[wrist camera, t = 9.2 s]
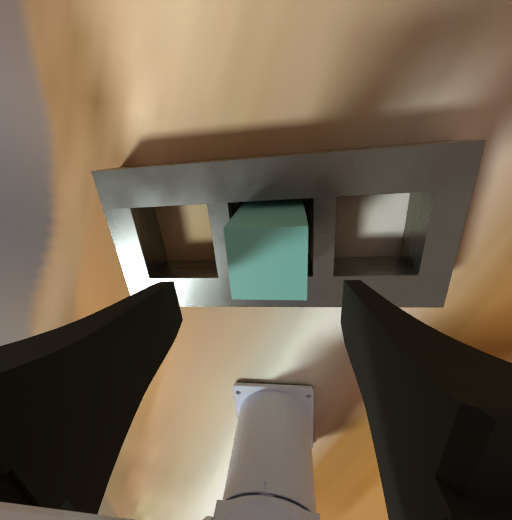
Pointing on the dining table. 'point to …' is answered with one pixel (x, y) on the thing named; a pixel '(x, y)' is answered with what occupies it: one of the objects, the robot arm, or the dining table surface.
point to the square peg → (268, 250)
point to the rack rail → (321, 218)
